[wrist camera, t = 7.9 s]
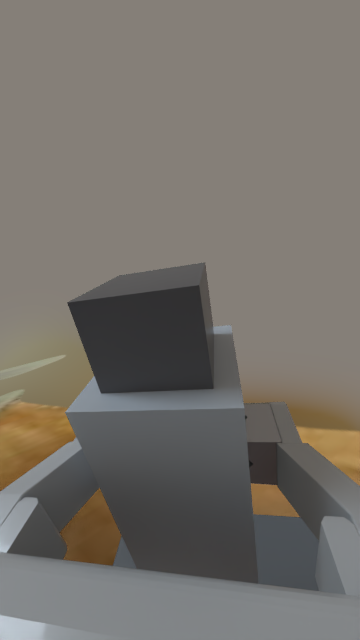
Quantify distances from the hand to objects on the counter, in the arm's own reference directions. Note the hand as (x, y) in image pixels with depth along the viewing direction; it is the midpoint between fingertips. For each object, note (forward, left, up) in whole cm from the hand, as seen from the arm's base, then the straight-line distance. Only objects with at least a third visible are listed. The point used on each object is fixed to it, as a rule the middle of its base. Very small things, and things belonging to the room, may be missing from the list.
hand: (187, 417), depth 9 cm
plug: (+1, -1, -8) cm, 8 cm away
